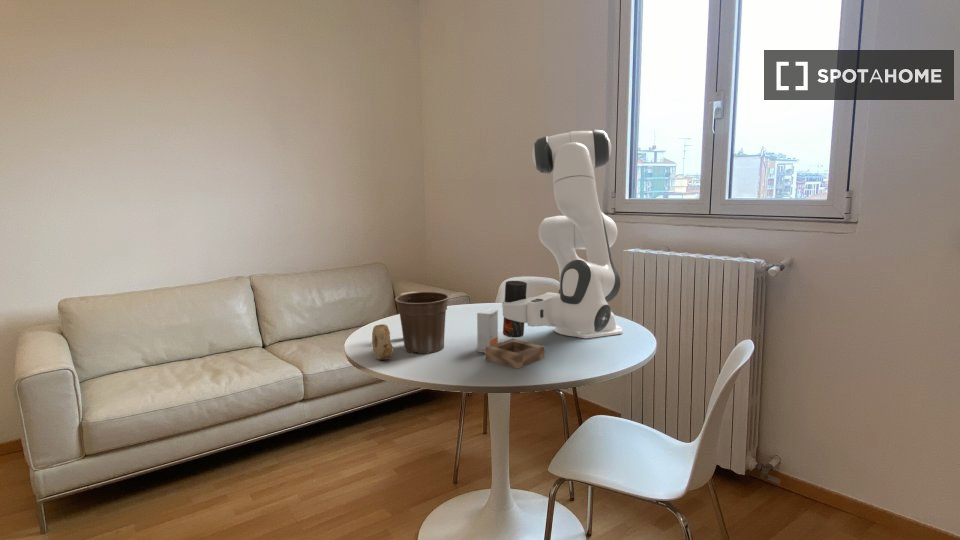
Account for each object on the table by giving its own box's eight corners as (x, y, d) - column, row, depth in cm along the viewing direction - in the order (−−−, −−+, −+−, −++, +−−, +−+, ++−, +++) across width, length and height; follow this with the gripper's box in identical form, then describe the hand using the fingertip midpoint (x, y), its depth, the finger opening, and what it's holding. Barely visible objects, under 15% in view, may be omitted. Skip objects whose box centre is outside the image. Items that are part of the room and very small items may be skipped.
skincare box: (489, 353, 161) (489, 314, 159) (477, 351, 163) (476, 312, 161) (498, 348, 166) (498, 309, 164) (486, 346, 168) (485, 308, 166)
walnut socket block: (544, 358, 156) (544, 346, 155) (517, 368, 147) (517, 356, 147) (512, 349, 164) (512, 338, 163) (485, 359, 155) (485, 347, 155)
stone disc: (370, 355, 161) (368, 322, 159) (382, 353, 163) (380, 320, 161) (381, 364, 152) (380, 330, 150) (394, 362, 154) (392, 328, 152)
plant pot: (413, 360, 156) (411, 305, 153) (387, 347, 169) (385, 296, 166) (460, 349, 165) (459, 297, 163) (432, 337, 178) (431, 289, 176)
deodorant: (527, 336, 153) (530, 284, 150) (508, 338, 151) (511, 286, 148) (517, 330, 159) (520, 280, 156) (499, 331, 156) (502, 281, 153)
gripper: (574, 291, 151) (535, 286, 160) (527, 303, 136) (488, 296, 146) (574, 314, 152) (535, 307, 161) (528, 328, 137) (488, 319, 147)
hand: (512, 302), depth 154 cm, fingers closed on deodorant, 6 cm apart
